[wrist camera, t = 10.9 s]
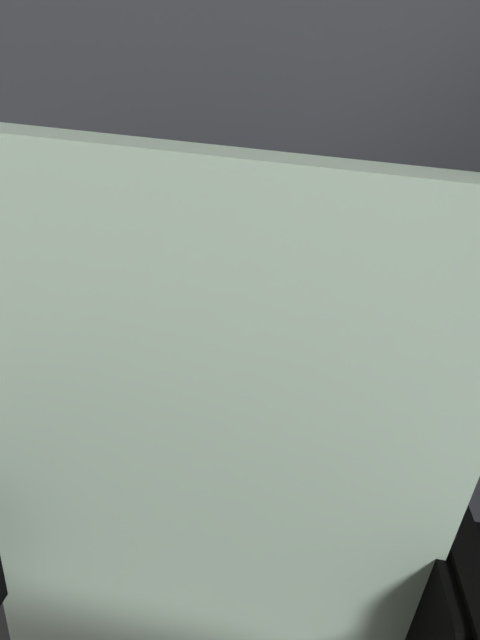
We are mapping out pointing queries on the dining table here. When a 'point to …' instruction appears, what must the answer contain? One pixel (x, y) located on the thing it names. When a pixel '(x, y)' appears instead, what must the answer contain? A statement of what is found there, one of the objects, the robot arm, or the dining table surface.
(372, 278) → the lid
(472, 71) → the mat
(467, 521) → the robot arm
